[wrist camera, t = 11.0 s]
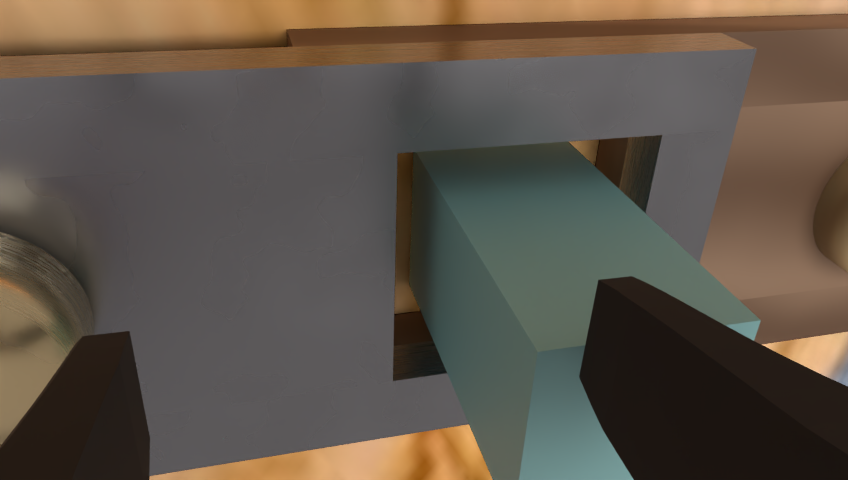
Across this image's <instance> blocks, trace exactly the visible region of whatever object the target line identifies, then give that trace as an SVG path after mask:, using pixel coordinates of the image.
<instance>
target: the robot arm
mask: <svg viewBox="0 0 848 480" xmlns="http://www.w3.org/2000/svg"><path fill="white" fill-rule="evenodd" d="M579 378H580V380H581V383H582V385H583V387H584V390H585V392H586V394H587V397H588V399H589V401H590V404H591V406H592V408H593V410H594V412H595V415H596V417H597V419H598V421H599V423H600V425H601V427H602V429H603V431H604V433H605V434H606V436H607V438H608V439H609V441H610V443H611V444H612V446H613V447H614V449H615V451H616V452H617V454H618V456H619V457H620V459H621V460H622V462H623V464H624V465H625V467H626V468H627V470H628V472H629V473H630V475H631V476H632V478H633V479H634V480H848V387H847V386H845V385H843V384H841V383H839V382H836V381H834V380H832V379H830V378H827V377H825V376H823V375H821V374H819V373H817V372H815V371H813V370H811V369H809V368H807V367H805V366H803V365H801V364H798V363H796V362H794V361H792V360H790V359H788V358H786V357H784V356H782V355H780V354H778V353H776V352H774V351H772V350H771V349H769V348H767V347H765V346H763V345H761V344H759V343H757V342H755V341H753V340H751V339H750V338H748V337H746V336H744V335H742V334H740V333H738V332H737V331H735V330H733V329H731V328H729V327H727V326H726V325H724V324H722V323H720V322H718V321H717V320H715V319H713V318H711V317H709V316H707V315H706V314H704V313H702V312H700V311H698V310H697V309H695V308H693V307H691V306H689V305H688V304H686V303H684V302H682V301H680V300H679V299H677V298H675V297H673V296H671V295H669V294H667V293H666V292H664V291H662V290H660V289H658V288H656V287H654V286H652V285H650V284H648V283H646V282H644V281H642V280H640V279H637V278H635V277H633V276H628V277H619V278H610V279H601V280H598V284H597V289H596V294H595V299H594V304H593V309H592V314H591V319H590V324H589V329H588V334H587V339H586V344H585V349H584V354H583V359H582V364H581V369H580V374H579ZM149 470H150V435H149V430H148V425H147V420H146V414H145V409H144V404H143V399H142V394H141V388H140V383H139V378H138V373H137V367H136V362H135V357H134V352H133V346H132V341H131V336H130V331H124V332H115V333H106V334H97V335H88V336H82V337H81V338H80V339H79V340H78V342H77V343H76V344H75V345H74V346H73V348H72V349H71V351H70V352H69V354H68V355H67V357H66V358H65V360H64V361H63V362H62V364H61V365H60V367H59V368H58V370H57V371H56V373H55V374H54V375H53V377H52V378H51V380H50V381H49V382H48V384H47V385H46V387H45V388H44V389H43V391H42V392H41V394H40V395H39V396H38V398H37V399H36V400H35V402H34V403H33V404H32V406H31V407H30V408H29V410H28V411H27V412H26V414H25V415H24V416H23V418H22V419H21V420H20V421H19V423H18V424H17V425H16V427H15V428H14V429H13V430H12V432H11V433H10V434H9V436H8V437H7V438H6V439H5V441H4V442H3V443H2V445H1V446H0V480H149Z"/></svg>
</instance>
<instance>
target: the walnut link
mask: <svg viewBox="0 0 848 480" xmlns="http://www.w3.org/2000/svg"><path fill="white" fill-rule="evenodd" d="M694 33H723V34H725V35H727V36H729V37H732V38H734V39H736V40H738V41H741V42H743V43H745V44H747V45H750V46H752V47H754V48H756V49H757V50H756V54H755V58H754V61H753V65H752V69H751V73H750V76H749V80H748V84H747V87H746V91H745V95H744V99H743V102H742V106H741V110H740V114H739V117H738V121H737V125H736V129H735V132H734V136H733V140H732V144H731V147H730V151H729V155H728V158H727V162H726V166H725V170H724V173H723V177H722V181H721V185H720V188H719V192H718V196H717V200H716V203H715V207H714V211H713V214H712V218H711V222H710V226H709V229H708V233H707V237H706V241H705V244H704V248H703V252H702V256H701V259H700V264H701V265H702V266H703V267H704V268H705V269H706V270H707V271H708V272H709V273H710V274H711V275H713V276H714V277H715V278H716V279H717V280H718V281H719V282H720V283H721V284H722V285H723V286H724V287H725V288H727V289H728V290H729V291H730V292H731V293H732V294H733V295H734V296H735V297H736V298H737V299H738V300H739V301H741V302H742V303H743V304H744V305H745V306H746V307H747V308H748V309H749V310H750V311H751V312H752V313H754V314H755V315H756V316H757V317H758V318H759V319H760V320H761V321H760V324H759V327H758V330H757V333H756V336H755V339H754V341H755V342H757V343H759V344H767V343H774V342H781V341H787V340H794V339H801V338H807V337H814V336H821V335H827V334H834V333H841V332H847V331H848V14H834V15H798V16H762V17H725V18H689V19H653V20H616V21H580V22H544V23H507V24H471V25H435V26H398V27H362V28H326V29H289V30H287V42H288V47H300V46H331V45H361V44H391V43H421V42H452V41H482V40H512V39H543V38H573V37H603V36H633V35H664V34H694ZM628 138H629V137H626V138H611V139H600V142H599V148H598V154H597V159H596V165H595V167H596V168H597V169H598V170H599V171H600V172H601V173H602V174H604V175H605V176H606V177H607V178H608V179H609V180H610V181H611V182H612V183H613V184H614V185H615V186H616V187H618V188H619V185H620V180H621V175H622V170H623V164H624V159H625V154H626V149H627V143H628ZM427 341H433V339H432V336H431V334H430V332H429V329H428V327H427V325H426V322H425V320H424V318H423V315H422V313H421V312H413V313H405V314H397V315H394V346H397V345H404V344H412V343H420V342H427Z"/></svg>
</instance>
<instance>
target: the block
mask: <svg viewBox="0 0 848 480" xmlns="http://www.w3.org/2000/svg"><path fill="white" fill-rule="evenodd" d="M628 276H633V277H635V278H637V279H640V280H642V281H644V282H646V283H648V284H650V285H652V286H654V287H656V288H658V289H660V290H662V291H664V292H666V293H667V294H669V295H671V296H673V297H675V298H677V299H679V300H680V301H682V302H684V303H686V304H688V305H689V306H691V307H693V308H695V309H697V310H698V311H700V312H702V313H704V314H706V315H707V316H709V317H711V318H713V319H715V320H717V321H718V322H720V323H722V324H724V325H726V326H727V327H729V328H731V329H733V330H735V331H737V332H738V333H740V334H742V335H744V336H746V337H748V338H750V339H751V340H753V341H754V339H755V336H756V333H757V330H758V327H759V324H760V321H761V320H760V319H759V318H758V317H757V316H756V315H755V314H754V313H752V312H751V311H750V310H749V309H748V308H747V307H746V306H745V305H744V304H743V303H742V302H741V301H739V300H738V299H737V298H736V297H735V296H734V295H733V294H732V293H731V292H730V291H729V290H728V289H727V288H725V287H724V286H723V285H722V284H721V283H720V282H719V281H718V280H717V279H716V278H715V277H714V276H713V275H711V274H710V273H709V272H708V271H707V270H706V269H705V268H704V267H703V266H702V265H701V264H700V263H698V262H697V261H696V260H695V259H694V258H693V257H692V256H691V255H690V254H689V253H688V252H687V251H686V250H684V249H683V248H682V247H681V246H680V245H679V244H678V243H677V242H676V241H675V240H674V239H673V238H672V237H670V236H669V235H668V234H667V233H666V232H665V231H664V230H663V229H662V228H661V227H660V226H659V225H657V224H656V223H655V222H654V221H653V220H652V219H651V218H650V217H649V216H648V215H647V214H646V213H645V212H643V211H642V210H641V209H640V208H639V207H638V206H637V205H636V204H635V203H634V202H633V201H632V200H631V199H629V198H628V197H627V196H626V195H625V194H624V193H623V192H622V191H621V190H620V189H619V188H618V187H616V186H615V185H614V184H613V183H612V182H611V181H610V180H609V179H608V178H607V177H606V176H605V175H604V174H602V173H601V172H600V171H599V170H598V169H597V168H596V167H595V166H594V165H593V164H592V163H591V162H590V161H588V160H587V159H586V158H585V157H584V156H583V155H582V154H581V153H580V152H579V151H578V150H577V149H575V148H574V147H573V146H572V145H571V144H570V143H569V142H554V143H539V144H525V145H510V146H496V147H481V148H467V149H453V150H438V151H424V152H413V181H412V213H411V244H410V275H409V285H410V287H411V290H412V292H413V294H414V297H415V299H416V301H417V304H418V306H419V308H420V311H421V313H422V315H423V318H424V320H425V322H426V325H427V327H428V329H429V332H430V334H431V336H432V339H433V341H434V343H435V346H436V348H437V350H438V353H439V355H440V357H441V360H442V362H443V364H444V367H445V369H446V371H447V374H448V376H449V378H450V381H451V383H452V385H453V388H454V390H455V392H456V395H457V397H458V399H459V402H460V404H461V406H462V409H463V411H464V413H465V416H466V418H467V420H468V423H469V425H470V427H471V430H472V432H473V434H474V437H475V439H476V441H477V444H478V446H479V448H480V451H481V453H482V455H483V458H484V460H485V462H486V465H487V467H488V469H489V472H490V474H491V476H492V479H493V480H634V479H633V478H632V476H631V475H630V473H629V472H628V470H627V468H626V467H625V465H624V464H623V462H622V460H621V459H620V457H619V456H618V454H617V452H616V451H615V449H614V447H613V446H612V444H611V443H610V441H609V439H608V438H607V436H606V434H605V433H604V431H603V429H602V427H601V425H600V423H599V421H598V419H597V417H596V415H595V412H594V410H593V408H592V406H591V404H590V401H589V399H588V397H587V394H586V392H585V390H584V387H583V385H582V383H581V380H580V378H579V374H580V369H581V364H582V359H583V354H584V349H585V344H586V339H587V334H588V329H589V324H590V319H591V314H592V309H593V304H594V299H595V294H596V289H597V284H598V280H601V279H610V278H619V277H628Z"/></svg>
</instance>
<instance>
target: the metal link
mask: <svg viewBox="0 0 848 480" xmlns="http://www.w3.org/2000/svg"><path fill="white" fill-rule="evenodd" d="M756 50H757V49H756V48H754V47H752V46H750V45H747V44H745V43H743V42H741V41H738V40H736V39H734V38H732V37H729V36H727V35H725V34H723V33H694V34H664V35H633V36H603V37H573V38H543V39H512V40H482V41H452V42H421V43H391V44H361V45H331V46H300V47H270V48H240V49H210V50H179V51H149V52H119V53H89V54H58V55H28V56H0V446H1V445H2V443H3V442H4V441H5V439H6V438H7V437H8V436H9V434H10V433H11V432H12V430H13V429H14V428H15V427H16V425H17V424H18V423H19V421H20V420H21V419H22V418H23V416H24V415H25V414H26V412H27V411H28V410H29V408H30V407H31V406H32V404H33V403H34V402H35V400H36V399H37V398H38V396H39V395H40V394H41V392H42V391H43V389H44V388H45V387H46V385H47V384H48V382H49V381H50V380H51V378H52V377H53V375H54V374H55V373H56V371H57V370H58V368H59V367H60V365H61V364H62V362H63V361H64V360H65V358H66V357H67V355H68V354H69V352H70V351H71V349H72V348H73V346H74V345H75V344H76V343H77V342H78V340H79V339H80V338H81V337H82V336H88V335H97V334H106V333H115V332H124V331H130V336H131V341H132V346H133V352H134V357H135V362H136V367H137V373H138V378H139V383H140V388H141V394H142V399H143V404H144V409H145V414H146V420H147V425H148V430H149V435H150V470H149V476H152V475H158V474H165V473H171V472H177V471H183V470H189V469H195V468H202V467H208V466H214V465H220V464H226V463H232V462H239V461H245V460H251V459H257V458H263V457H269V456H276V455H282V454H288V453H294V452H300V451H306V450H313V449H319V448H325V447H331V446H337V445H343V444H350V443H356V442H362V441H368V440H374V439H380V438H387V437H393V436H399V435H405V434H411V433H417V432H424V431H430V430H436V429H442V428H448V427H454V426H460V425H467V424H469V423H468V420H467V418H466V416H465V413H464V411H463V409H462V406H461V404H460V402H459V399H458V397H457V395H456V392H455V390H454V388H453V385H452V383H451V381H450V378H449V376H448V374H447V371H446V369H445V367H444V364H443V362H442V360H441V357H440V355H439V353H438V350H437V348H436V346H435V343H434V341H427V342H420V343H412V344H404V345H397V346H394V297H395V249H396V200H397V153H409V152H424V151H438V150H453V149H467V148H481V147H496V146H510V145H525V144H539V143H554V142H568V141H582V140H597V139H611V138H626V137H629V138H628V143H627V149H626V154H625V159H624V164H623V170H622V175H621V180H620V185H619V189H620V190H621V191H622V192H623V193H624V194H625V195H626V196H627V197H628V198H629V199H631V200H632V201H633V202H634V203H635V204H636V205H637V206H638V207H639V208H640V209H641V210H642V211H643V212H645V213H646V214H647V215H648V216H649V217H650V218H651V219H652V220H653V221H654V222H655V223H656V224H657V225H659V226H660V227H661V228H662V229H663V230H664V231H665V232H666V233H667V234H668V235H669V236H670V237H672V238H673V239H674V240H675V241H676V242H677V243H678V244H679V245H680V246H681V247H682V248H683V249H684V250H686V251H687V252H688V253H689V254H690V255H691V256H692V257H693V258H694V259H695V260H696V261H697V262H698V263H700V259H701V256H702V252H703V248H704V244H705V241H706V237H707V233H708V229H709V226H710V222H711V218H712V214H713V211H714V207H715V203H716V200H717V196H718V192H719V188H720V185H721V181H722V177H723V173H724V170H725V166H726V162H727V158H728V155H729V151H730V147H731V144H732V140H733V136H734V132H735V129H736V125H737V121H738V117H739V114H740V110H741V106H742V102H743V99H744V95H745V91H746V87H747V84H748V80H749V76H750V73H751V69H752V65H753V61H754V58H755V54H756Z"/></svg>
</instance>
